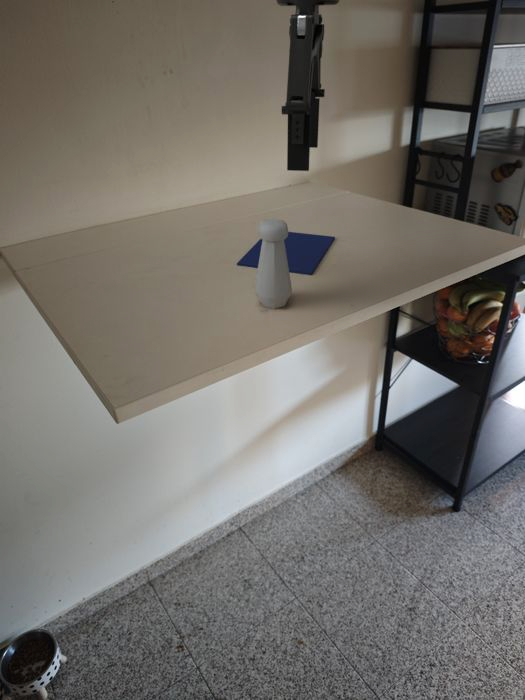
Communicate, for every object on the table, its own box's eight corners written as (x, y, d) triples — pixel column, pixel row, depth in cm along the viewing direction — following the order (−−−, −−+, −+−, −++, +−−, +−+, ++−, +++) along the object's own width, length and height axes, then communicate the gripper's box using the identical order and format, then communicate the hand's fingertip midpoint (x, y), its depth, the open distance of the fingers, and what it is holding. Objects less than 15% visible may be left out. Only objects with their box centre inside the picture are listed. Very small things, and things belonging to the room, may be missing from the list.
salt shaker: (260, 313, 75) (258, 230, 68) (250, 296, 80) (248, 217, 73) (296, 308, 76) (298, 226, 69) (285, 291, 81) (286, 213, 74)
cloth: (334, 238, 100) (335, 236, 100) (311, 275, 86) (311, 272, 86) (269, 231, 104) (269, 229, 104) (236, 265, 90) (236, 263, 90)
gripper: (290, -28, 68) (288, 138, 80) (257, -46, 47) (261, 181, 59) (345, -30, 67) (335, 139, 78) (336, -49, 46) (324, 183, 58)
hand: (303, 157), depth 69 cm, fingers open, 13 cm apart
